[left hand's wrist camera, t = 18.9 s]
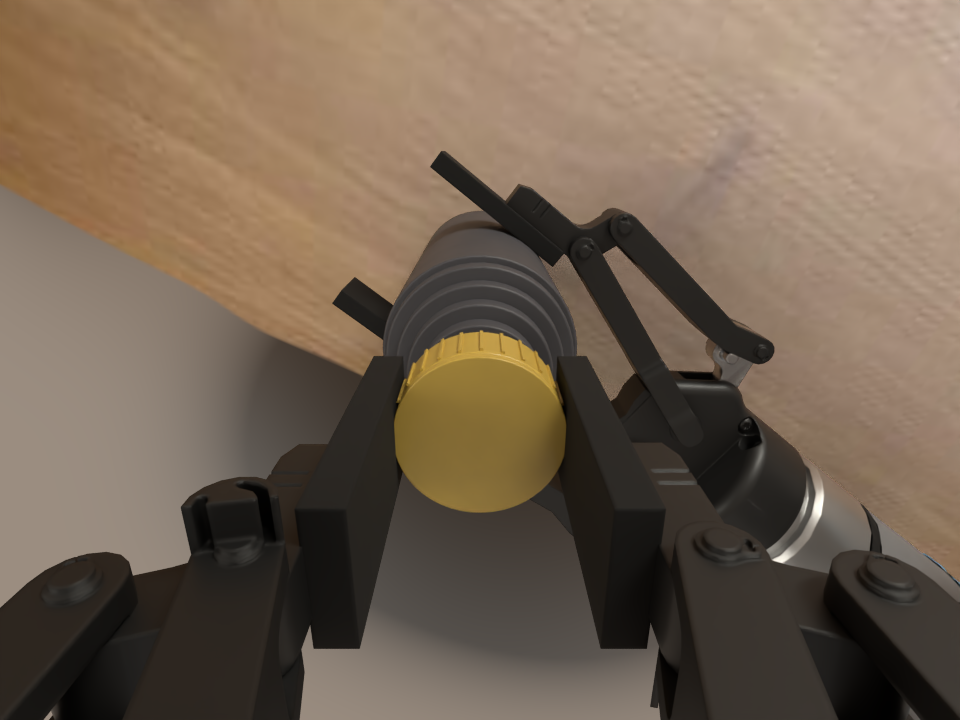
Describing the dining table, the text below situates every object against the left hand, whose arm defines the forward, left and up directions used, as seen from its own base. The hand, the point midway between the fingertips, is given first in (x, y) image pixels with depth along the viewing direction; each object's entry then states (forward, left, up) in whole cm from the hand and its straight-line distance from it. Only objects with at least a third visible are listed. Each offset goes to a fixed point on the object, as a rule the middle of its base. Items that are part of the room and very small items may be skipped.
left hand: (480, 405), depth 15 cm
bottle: (0, 0, -18) cm, 18 cm away
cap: (0, 0, +2) cm, 2 cm away
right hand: (-5, 0, -12) cm, 13 cm away
